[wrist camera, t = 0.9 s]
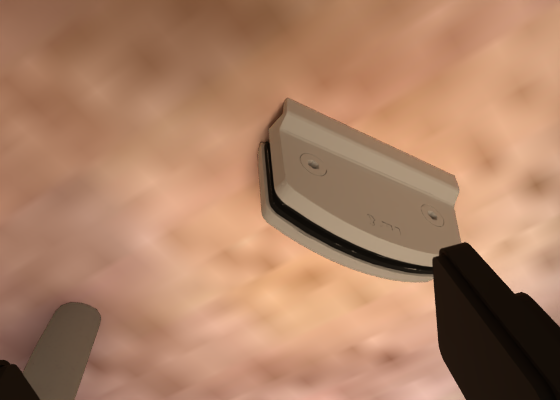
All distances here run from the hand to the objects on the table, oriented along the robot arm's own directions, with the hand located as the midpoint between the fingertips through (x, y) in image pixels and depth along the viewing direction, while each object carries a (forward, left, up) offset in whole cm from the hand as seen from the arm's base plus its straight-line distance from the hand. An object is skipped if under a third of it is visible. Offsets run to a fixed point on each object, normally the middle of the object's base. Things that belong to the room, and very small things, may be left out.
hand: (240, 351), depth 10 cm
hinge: (+9, +8, -27) cm, 29 cm away
